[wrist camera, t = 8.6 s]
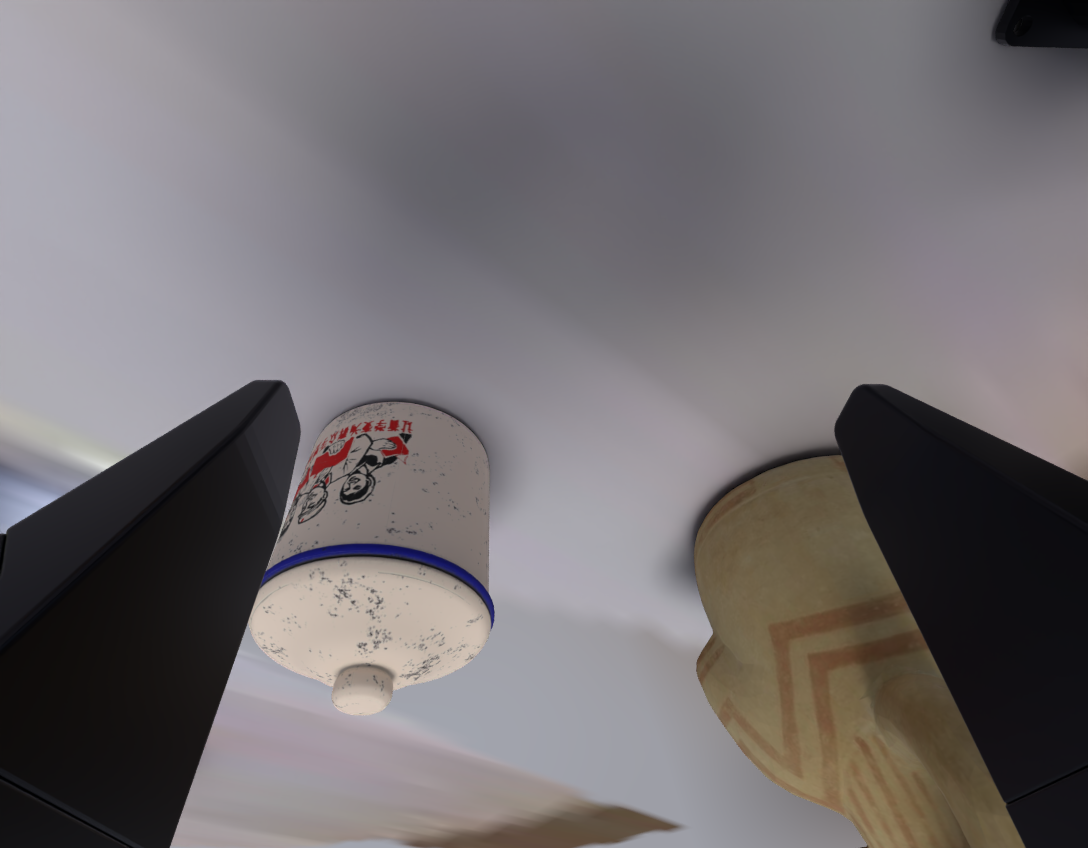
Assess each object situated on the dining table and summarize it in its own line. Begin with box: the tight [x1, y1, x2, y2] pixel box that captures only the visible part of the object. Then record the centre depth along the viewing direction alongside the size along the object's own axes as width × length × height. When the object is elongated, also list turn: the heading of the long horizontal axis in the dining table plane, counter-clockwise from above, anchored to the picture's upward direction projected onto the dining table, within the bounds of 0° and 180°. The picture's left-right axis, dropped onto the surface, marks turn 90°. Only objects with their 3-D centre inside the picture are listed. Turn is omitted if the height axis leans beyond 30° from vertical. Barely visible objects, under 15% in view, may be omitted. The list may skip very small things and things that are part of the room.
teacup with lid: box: [248, 402, 494, 715], centre depth 23 cm, size 12×9×12 cm
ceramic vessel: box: [694, 455, 1025, 848], centre depth 23 cm, size 17×20×25 cm
